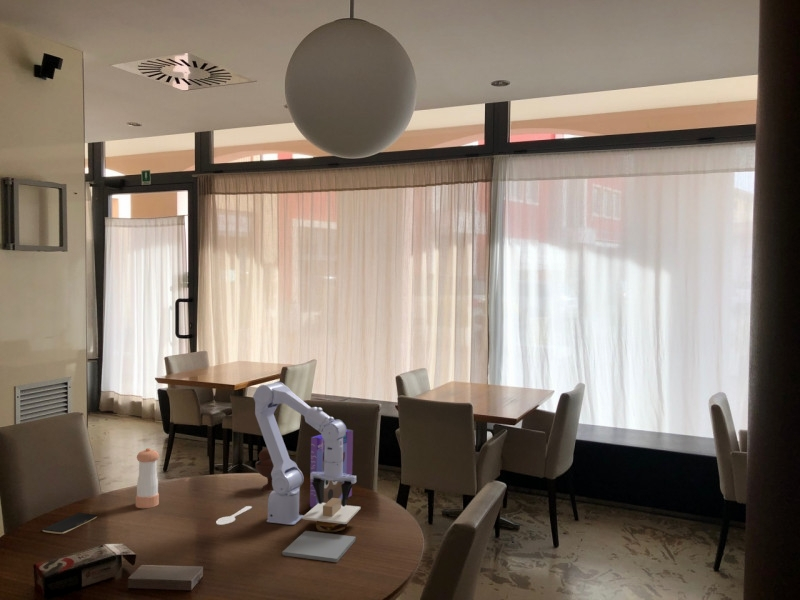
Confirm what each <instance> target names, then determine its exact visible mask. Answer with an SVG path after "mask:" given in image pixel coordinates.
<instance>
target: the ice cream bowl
mask: <svg viewBox="0 0 800 600" xmlns="http://www.w3.org/2000/svg"><path fill="white" fill-rule="evenodd" d="M257 457H258V459H259V460H258V461H256V462H255V466H254V467H255V469H256V472H257V473H258V474H259V475H261V476H262V477H264V478H266V480H267V483H266V484H264V485H262V489H261V490H263V491H268V492H269V491H274V489H273V486H272V476H271V472H272V470H273V467H274V465H273V462H272V460H271V457H270V454H269V451H268V448H267V447H266V448H263V449H262V450H261V451H259V453H258V456H257Z"/></svg>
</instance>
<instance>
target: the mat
mask: <svg viewBox="0 0 800 600" xmlns="http://www.w3.org/2000/svg"><path fill="white" fill-rule="evenodd" d="M356 539H357V538H356V536H352V535H344V534H337V533H336V534H334V533H330V532H321V531H310V530H305V531H303V532H302V533H301V534H300V535H299V536H298V537H297V538H296V539H295V540H293V541H292V542H291V543H290V544H289V545H288V546H287V547H286V548H285V549H283V550H282V556H284V557H294V558H301V559H308V560H316V561H317V560H318V561H325V562H331V563H338V562H339V560H340V559H341V558H342V557H343V556H344V555H345V554H346V552H347V551H348V550H349V549H350V548H351V546H352V545H353V544H354V543H355V542H356V541H357V540H356Z"/></svg>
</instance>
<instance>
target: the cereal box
mask: <svg viewBox="0 0 800 600" xmlns="http://www.w3.org/2000/svg"><path fill="white" fill-rule="evenodd" d="M342 438H343V473H344V474H349V475H353V453H354V452H353V451H354V450H353V449H354V430H353V429H348V428H346V434H345V436H344V437H342ZM340 439H341V438H340ZM324 452H325V445H324V439H323V438H322V435H321V434H318V435H315V436H311V437H310V473H312V472H324ZM309 479H310V478H309ZM312 482H313V480H312V479H310V481H309V483H310V486H309V508H310V509H312V508H313V507H315V506H316V505H317V504H318V503H319V501H318V496H317V493H316V491H315V488H314V487H313V485H312ZM343 483H344V482H339V481H329V480H325V483H324V501H323V503H327V502H328V501H329V500H330V499H331V498H340V499H341V502H342V487H341V485H342V484H343ZM351 497H353V487H352V488H351V490H350V493H349V496H348V499H349V498H351Z"/></svg>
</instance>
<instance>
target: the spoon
mask: <svg viewBox="0 0 800 600" xmlns="http://www.w3.org/2000/svg"><path fill="white" fill-rule="evenodd" d="M251 509H253V506H252V505H247V506H244V507H243V508H241V509H240V510H238V511H237V512H235V513H234V514H231V515H229V516H223V517H220V518H218V519H217V520H216V521H215V524H216V525H218V526H225V525H228V524H231V523H233V522H235V521H236V519H237V518H236V517H237V516H239V515H241V514H242V513H245V512H246V511H249V510H251Z"/></svg>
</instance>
